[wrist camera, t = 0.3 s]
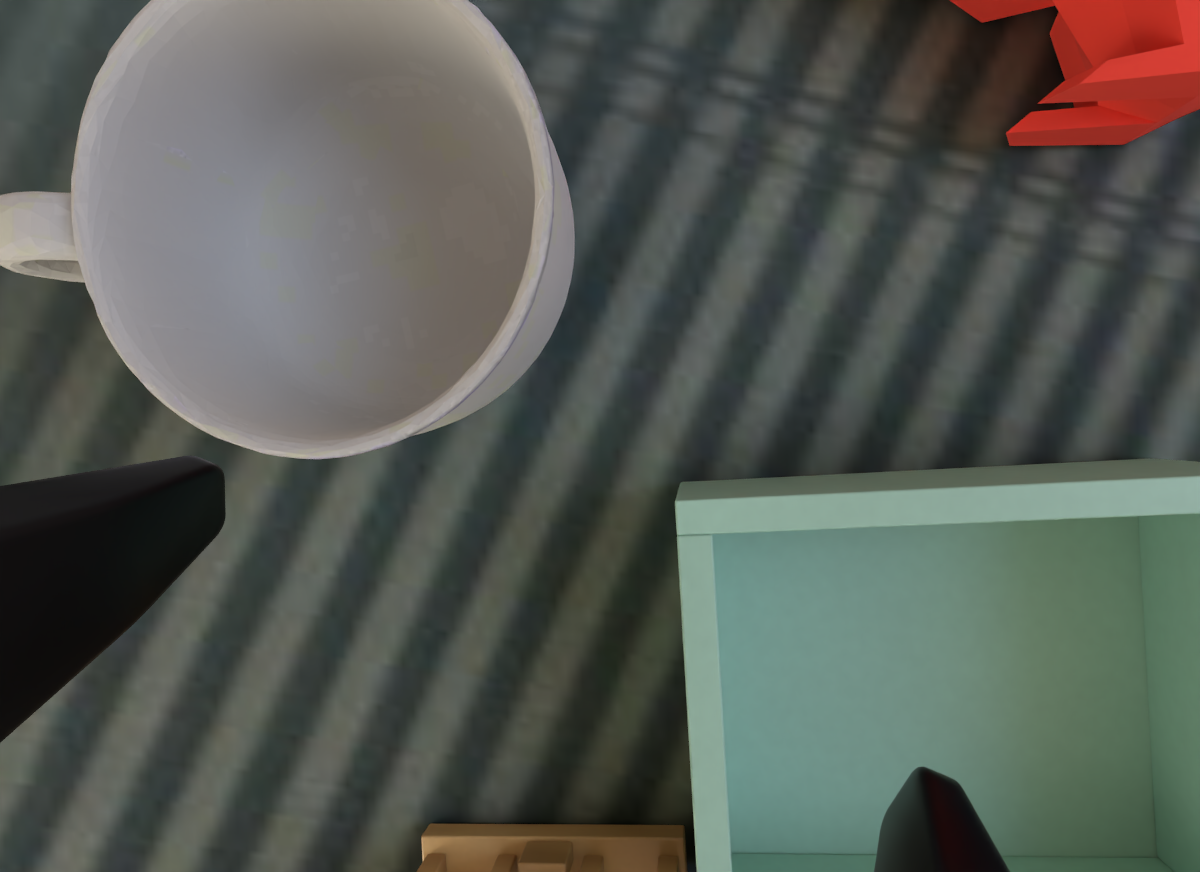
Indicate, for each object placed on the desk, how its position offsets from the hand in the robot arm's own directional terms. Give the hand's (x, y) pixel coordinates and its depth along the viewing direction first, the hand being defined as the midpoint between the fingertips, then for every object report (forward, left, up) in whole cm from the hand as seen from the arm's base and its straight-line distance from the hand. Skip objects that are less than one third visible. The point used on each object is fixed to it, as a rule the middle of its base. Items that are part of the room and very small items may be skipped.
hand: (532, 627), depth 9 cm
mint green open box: (-5, -8, -14) cm, 17 cm away
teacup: (+8, +7, -14) cm, 18 cm away
